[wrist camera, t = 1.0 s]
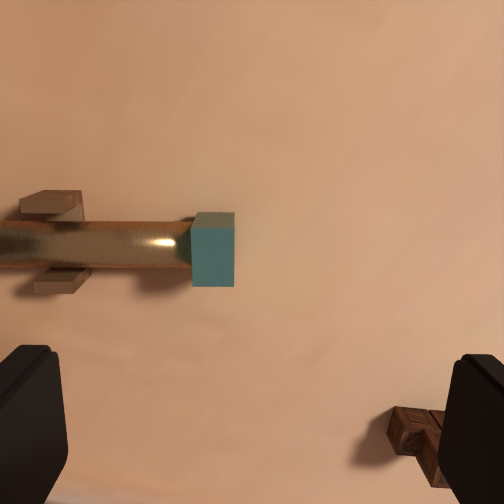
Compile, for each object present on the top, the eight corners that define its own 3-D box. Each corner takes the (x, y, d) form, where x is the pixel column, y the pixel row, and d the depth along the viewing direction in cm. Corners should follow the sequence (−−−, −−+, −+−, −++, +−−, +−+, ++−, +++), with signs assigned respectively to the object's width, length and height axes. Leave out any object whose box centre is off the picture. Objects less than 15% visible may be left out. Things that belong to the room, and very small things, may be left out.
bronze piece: (2, 210, 33) (-39, 226, 28) (234, 212, 33) (234, 228, 28) (11, 262, 34) (-26, 286, 29) (234, 263, 35) (233, 286, 30)
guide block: (44, 190, 33) (18, 199, 29) (81, 190, 33) (61, 199, 30) (56, 275, 36) (34, 293, 32) (91, 275, 36) (73, 293, 32)
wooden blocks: (335, 479, 45) (352, 540, 38) (367, 360, 40) (392, 407, 34) (466, 490, 46) (503, 552, 39) (511, 376, 41) (562, 425, 35)
